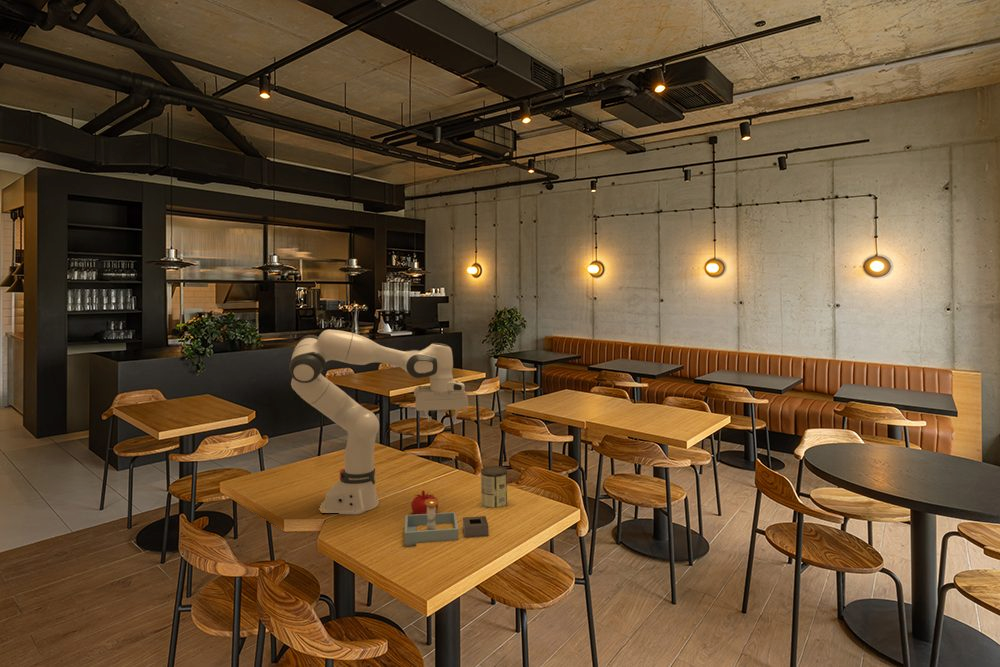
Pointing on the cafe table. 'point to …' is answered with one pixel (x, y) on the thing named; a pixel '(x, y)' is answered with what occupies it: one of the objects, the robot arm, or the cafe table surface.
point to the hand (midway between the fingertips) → (442, 421)
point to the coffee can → (494, 486)
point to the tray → (429, 535)
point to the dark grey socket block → (475, 526)
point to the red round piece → (421, 503)
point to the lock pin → (431, 513)
